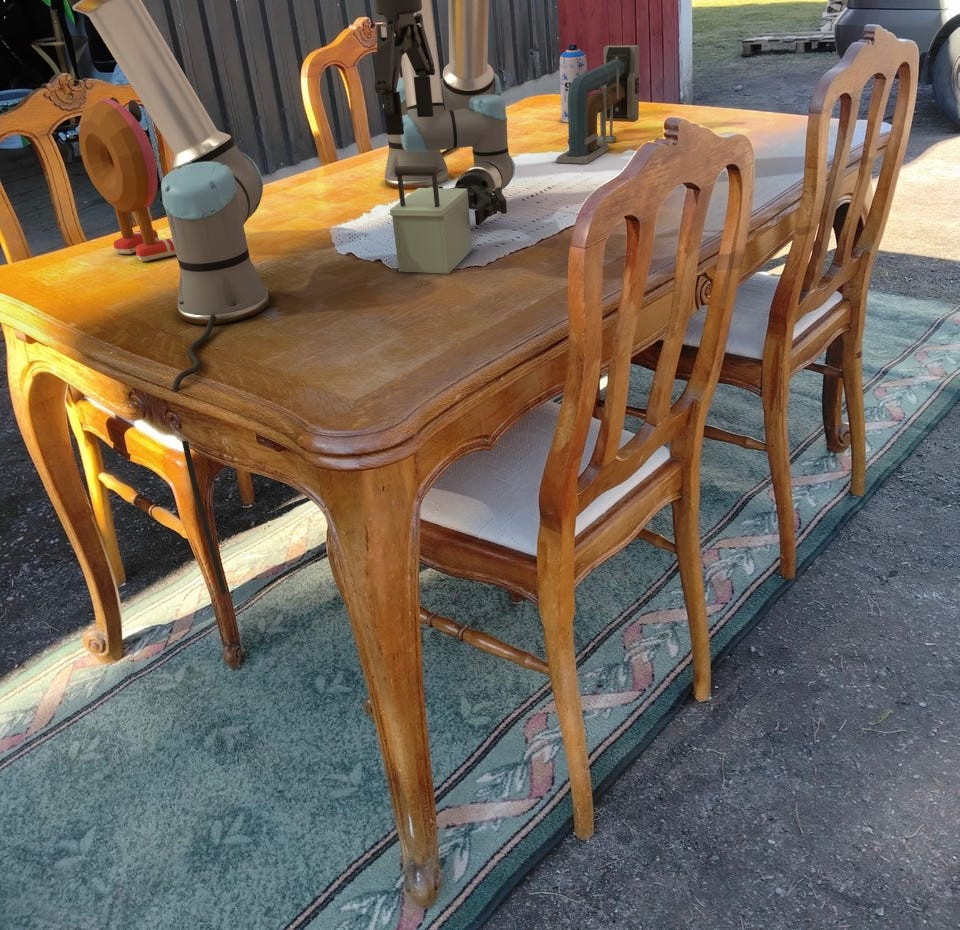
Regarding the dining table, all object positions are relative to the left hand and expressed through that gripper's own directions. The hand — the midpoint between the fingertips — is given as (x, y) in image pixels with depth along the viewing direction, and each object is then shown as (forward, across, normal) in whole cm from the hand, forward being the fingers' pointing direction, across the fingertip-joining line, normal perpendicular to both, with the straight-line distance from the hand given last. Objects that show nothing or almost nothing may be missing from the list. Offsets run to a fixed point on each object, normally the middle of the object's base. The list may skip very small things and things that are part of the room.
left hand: (411, 125), depth 163 cm
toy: (+25, -3, -62) cm, 67 cm away
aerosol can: (+25, -126, -3) cm, 128 cm away
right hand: (+19, -10, 0) cm, 21 cm away
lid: (+15, -5, 0) cm, 15 cm away
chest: (+25, -5, 0) cm, 26 cm away
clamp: (+25, -93, +11) cm, 97 cm away
